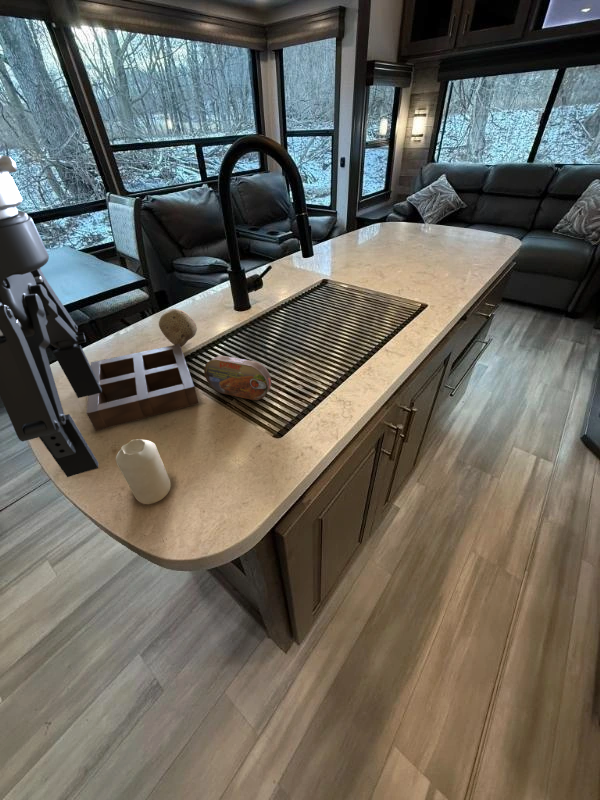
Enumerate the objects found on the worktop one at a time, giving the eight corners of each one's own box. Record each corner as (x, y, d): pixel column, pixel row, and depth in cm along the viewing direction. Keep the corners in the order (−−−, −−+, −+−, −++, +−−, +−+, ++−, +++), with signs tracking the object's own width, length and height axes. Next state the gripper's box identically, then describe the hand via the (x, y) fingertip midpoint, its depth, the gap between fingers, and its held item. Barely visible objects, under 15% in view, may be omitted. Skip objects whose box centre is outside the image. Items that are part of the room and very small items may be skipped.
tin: (207, 390, 74) (199, 357, 69) (214, 382, 76) (207, 350, 71) (268, 404, 70) (265, 370, 65) (274, 395, 72) (271, 362, 67)
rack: (95, 431, 64) (86, 413, 61) (98, 378, 78) (90, 362, 75) (198, 403, 70) (194, 386, 67) (183, 359, 84) (179, 343, 82)
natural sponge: (192, 333, 96) (185, 300, 89) (205, 346, 90) (197, 311, 84) (161, 343, 91) (151, 308, 85) (172, 356, 86) (161, 320, 79)
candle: (164, 504, 51) (144, 461, 45) (129, 504, 51) (104, 461, 45) (175, 476, 55) (158, 432, 49) (143, 475, 55) (122, 432, 49)
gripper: (-21, 248, 16) (126, 501, 30) (49, 192, 34) (121, 365, 48) (-235, 269, 14) (28, 534, 27) (-40, 197, 32) (61, 378, 45)
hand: (87, 427), depth 37 cm, fingers open, 13 cm apart
